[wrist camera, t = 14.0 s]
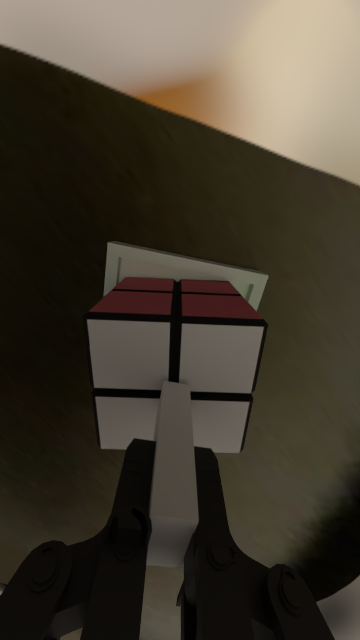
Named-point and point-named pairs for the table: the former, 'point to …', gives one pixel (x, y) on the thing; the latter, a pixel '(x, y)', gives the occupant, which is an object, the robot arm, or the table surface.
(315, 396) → the table surface
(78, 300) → the table surface
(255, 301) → the baseplate
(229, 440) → the puzzle cube
